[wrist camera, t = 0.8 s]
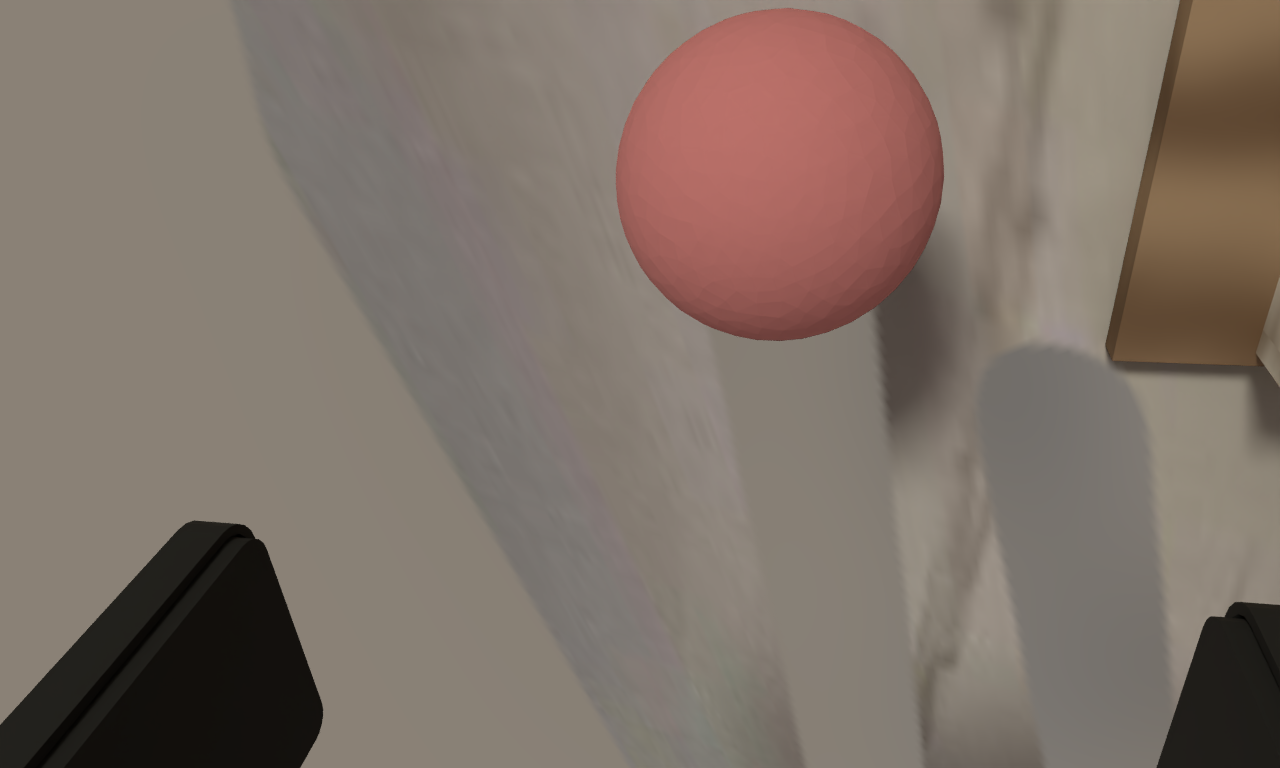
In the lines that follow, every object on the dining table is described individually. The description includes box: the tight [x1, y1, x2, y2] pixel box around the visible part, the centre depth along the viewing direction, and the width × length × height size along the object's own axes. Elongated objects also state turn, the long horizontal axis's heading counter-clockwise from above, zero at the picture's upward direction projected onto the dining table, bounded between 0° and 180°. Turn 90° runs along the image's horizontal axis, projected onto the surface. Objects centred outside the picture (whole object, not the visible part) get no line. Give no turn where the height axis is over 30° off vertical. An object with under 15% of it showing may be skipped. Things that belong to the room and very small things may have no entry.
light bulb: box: [616, 8, 944, 341], centre depth 23 cm, size 7×7×12 cm
